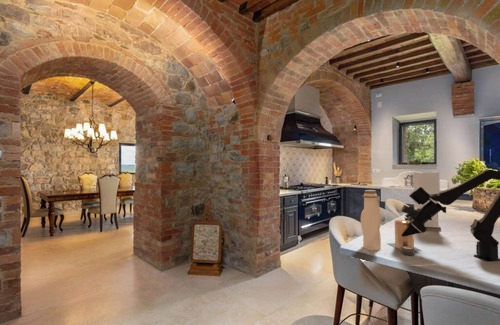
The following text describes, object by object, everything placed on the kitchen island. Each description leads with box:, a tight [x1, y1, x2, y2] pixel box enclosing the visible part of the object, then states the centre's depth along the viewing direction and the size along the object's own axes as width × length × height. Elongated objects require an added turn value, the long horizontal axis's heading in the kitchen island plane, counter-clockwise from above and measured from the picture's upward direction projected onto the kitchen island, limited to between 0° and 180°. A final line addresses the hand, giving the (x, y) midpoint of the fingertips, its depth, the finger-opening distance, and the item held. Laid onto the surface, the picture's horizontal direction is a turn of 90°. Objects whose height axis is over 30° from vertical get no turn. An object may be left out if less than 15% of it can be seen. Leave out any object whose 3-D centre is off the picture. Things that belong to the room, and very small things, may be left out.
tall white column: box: [412, 171, 442, 232], centre depth 161 cm, size 11×11×35 cm
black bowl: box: [400, 246, 415, 256], centre depth 115 cm, size 5×5×3 cm
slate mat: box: [387, 242, 423, 252], centre depth 125 cm, size 12×10×1 cm
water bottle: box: [360, 189, 382, 251], centre depth 126 cm, size 10×9×28 cm
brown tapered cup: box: [394, 219, 415, 250], centre depth 124 cm, size 8×8×13 cm
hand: (400, 233), depth 124 cm, fingers closed on brown tapered cup, 8 cm apart
